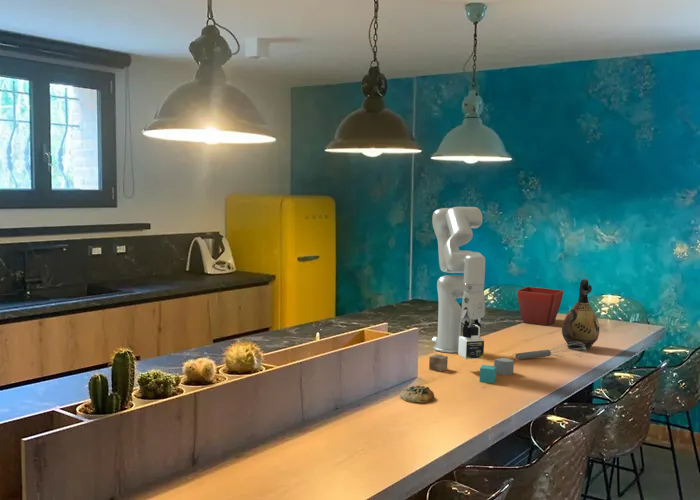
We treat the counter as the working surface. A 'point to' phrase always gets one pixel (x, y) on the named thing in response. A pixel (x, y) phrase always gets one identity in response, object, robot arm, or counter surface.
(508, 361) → the slate grey block
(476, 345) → the medicine bottle
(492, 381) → the deep teal block
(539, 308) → the plant pot
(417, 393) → the bread roll
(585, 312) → the ceramic jug
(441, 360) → the walnut block
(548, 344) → the counter surface
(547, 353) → the kitchen whisk
